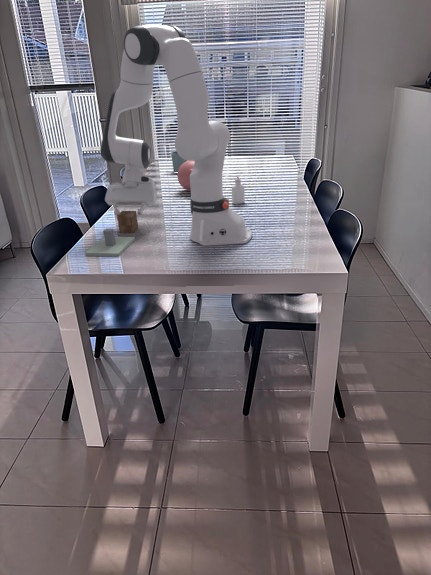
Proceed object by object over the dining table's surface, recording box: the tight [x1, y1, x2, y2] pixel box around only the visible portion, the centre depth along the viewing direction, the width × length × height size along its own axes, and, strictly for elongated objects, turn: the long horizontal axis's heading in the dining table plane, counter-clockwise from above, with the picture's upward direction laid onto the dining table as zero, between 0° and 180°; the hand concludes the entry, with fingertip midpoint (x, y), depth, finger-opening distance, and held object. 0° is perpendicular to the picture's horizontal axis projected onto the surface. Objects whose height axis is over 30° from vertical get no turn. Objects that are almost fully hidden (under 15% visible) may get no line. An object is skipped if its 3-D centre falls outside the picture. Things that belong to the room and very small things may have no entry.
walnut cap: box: [116, 210, 139, 234], centre depth 165 cm, size 6×6×7 cm
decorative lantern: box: [177, 160, 195, 192], centre depth 212 cm, size 15×20×15 cm
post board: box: [84, 227, 136, 257], centre depth 149 cm, size 12×16×6 cm
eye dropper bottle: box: [231, 175, 246, 205], centre depth 191 cm, size 4×6×12 cm
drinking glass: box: [170, 150, 188, 173], centre depth 260 cm, size 10×10×12 cm
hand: (128, 214), depth 165 cm, fingers open, 8 cm apart
